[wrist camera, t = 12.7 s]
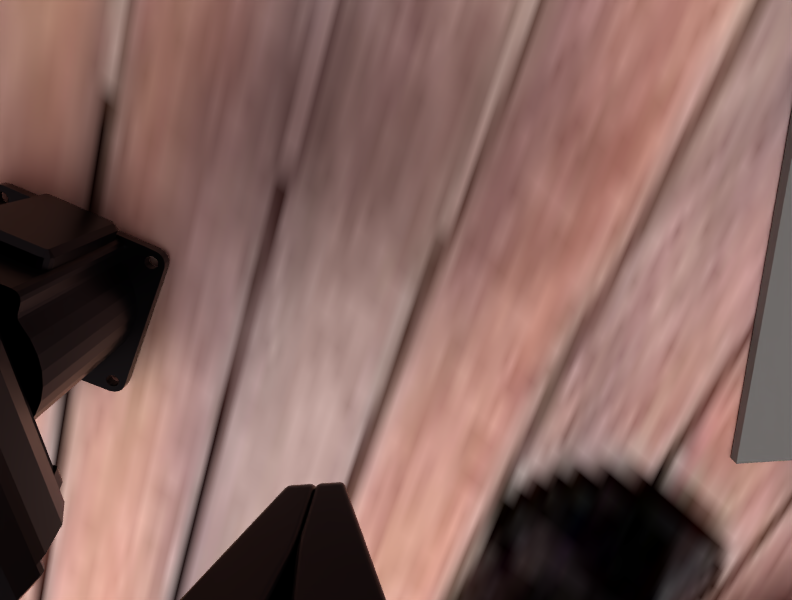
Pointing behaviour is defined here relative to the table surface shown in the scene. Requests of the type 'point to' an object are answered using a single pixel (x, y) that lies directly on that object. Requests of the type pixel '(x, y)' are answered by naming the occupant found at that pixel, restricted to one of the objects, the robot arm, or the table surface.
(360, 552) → the robot arm
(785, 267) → the mat
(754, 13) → the table surface
